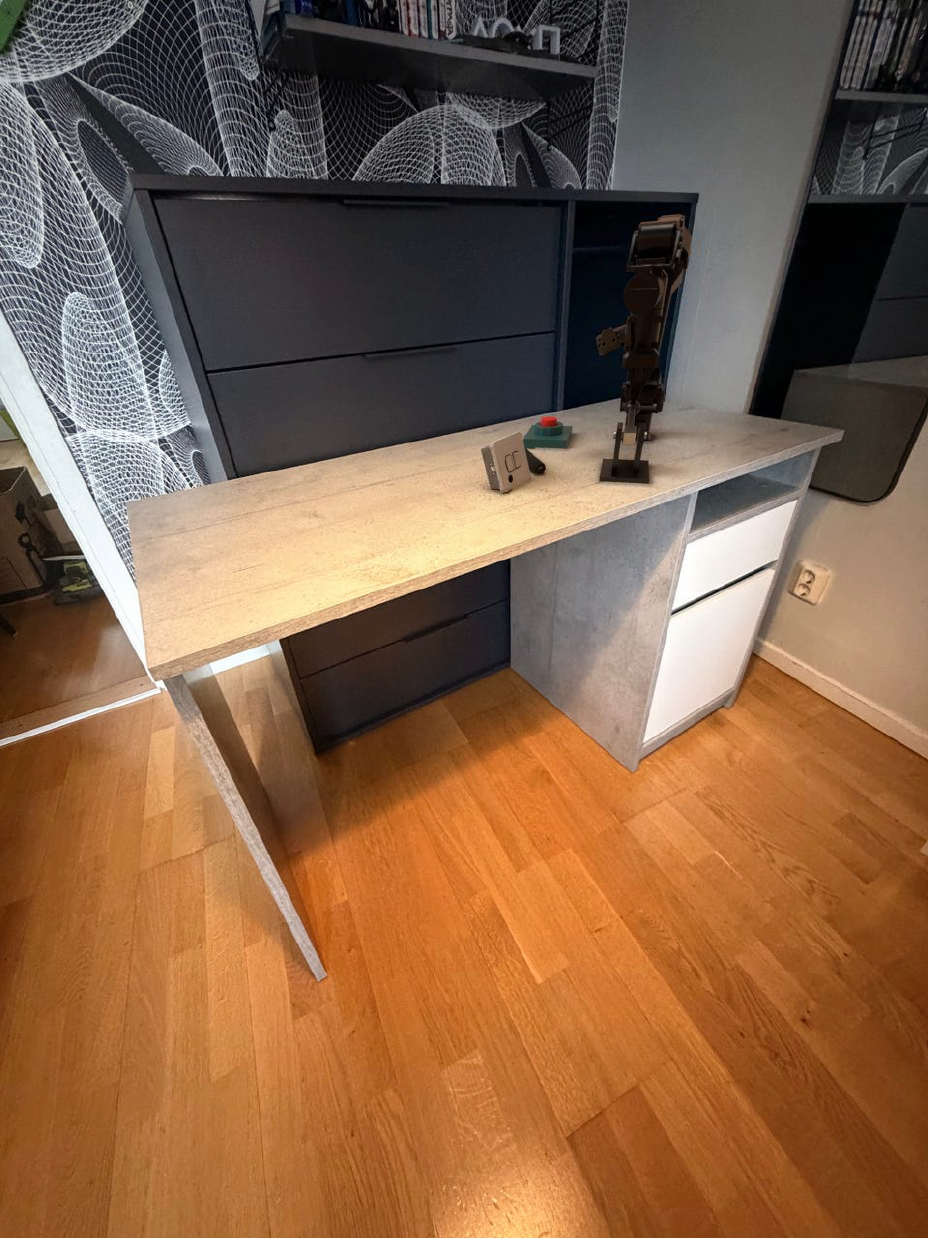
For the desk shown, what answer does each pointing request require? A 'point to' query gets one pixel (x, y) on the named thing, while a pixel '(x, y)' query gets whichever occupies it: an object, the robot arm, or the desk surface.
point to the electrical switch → (506, 462)
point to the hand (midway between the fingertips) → (633, 400)
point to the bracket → (626, 462)
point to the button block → (547, 436)
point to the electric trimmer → (534, 462)
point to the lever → (631, 422)
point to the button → (548, 421)
